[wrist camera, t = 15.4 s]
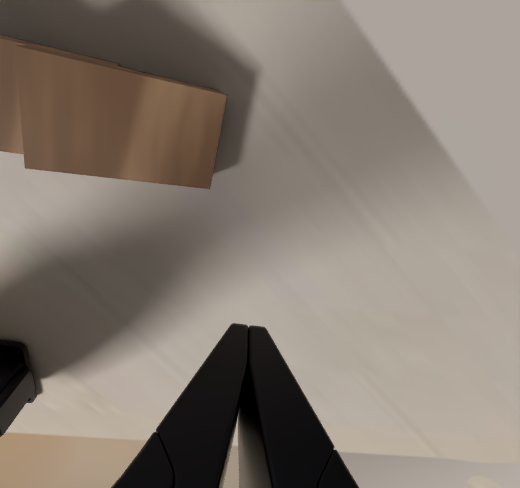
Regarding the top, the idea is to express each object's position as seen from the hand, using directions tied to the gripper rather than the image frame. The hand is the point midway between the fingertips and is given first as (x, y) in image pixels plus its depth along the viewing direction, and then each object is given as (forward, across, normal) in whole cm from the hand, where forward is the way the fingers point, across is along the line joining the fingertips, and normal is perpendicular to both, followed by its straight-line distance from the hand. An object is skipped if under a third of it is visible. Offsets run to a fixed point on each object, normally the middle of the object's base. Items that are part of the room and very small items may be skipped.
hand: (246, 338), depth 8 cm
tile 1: (+12, +2, -2) cm, 12 cm away
